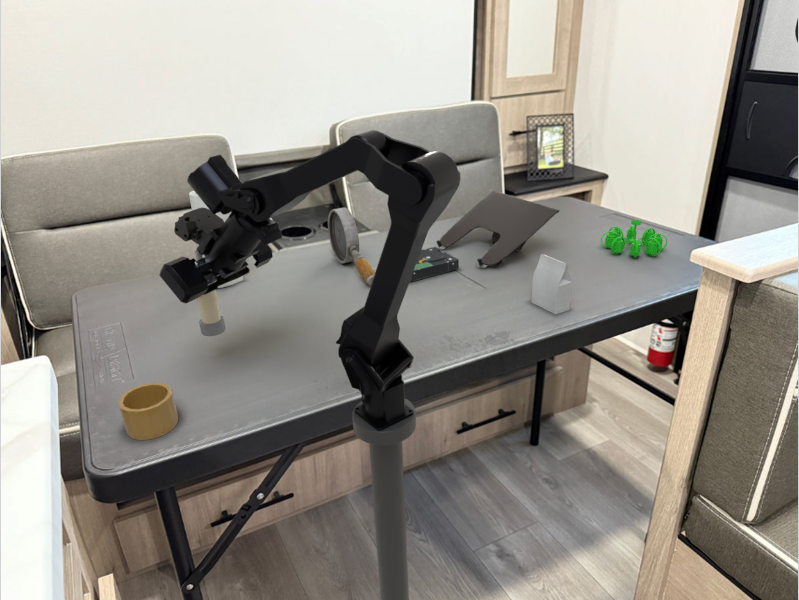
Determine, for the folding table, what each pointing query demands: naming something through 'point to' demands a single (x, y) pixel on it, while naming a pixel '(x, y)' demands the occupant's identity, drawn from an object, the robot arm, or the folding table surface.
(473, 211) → the laptop tray
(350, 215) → the magnifying glass
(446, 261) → the disk drive
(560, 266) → the white gabled box
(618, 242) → the chandelier
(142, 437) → the holder
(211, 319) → the kitchen roll stand
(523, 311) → the folding table surface
